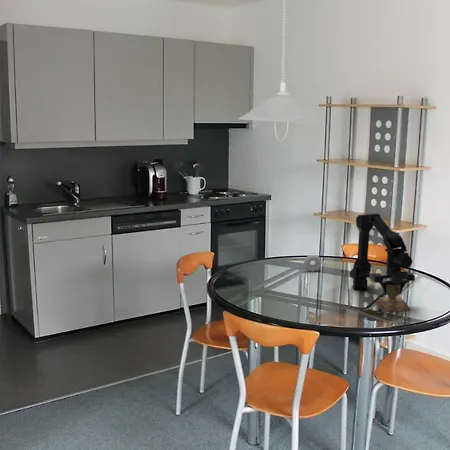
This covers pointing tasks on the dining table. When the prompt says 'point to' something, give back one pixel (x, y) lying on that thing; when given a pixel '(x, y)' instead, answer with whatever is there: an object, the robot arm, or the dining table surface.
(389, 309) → the plinth
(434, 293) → the dining table surface
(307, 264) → the donut
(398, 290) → the cup
